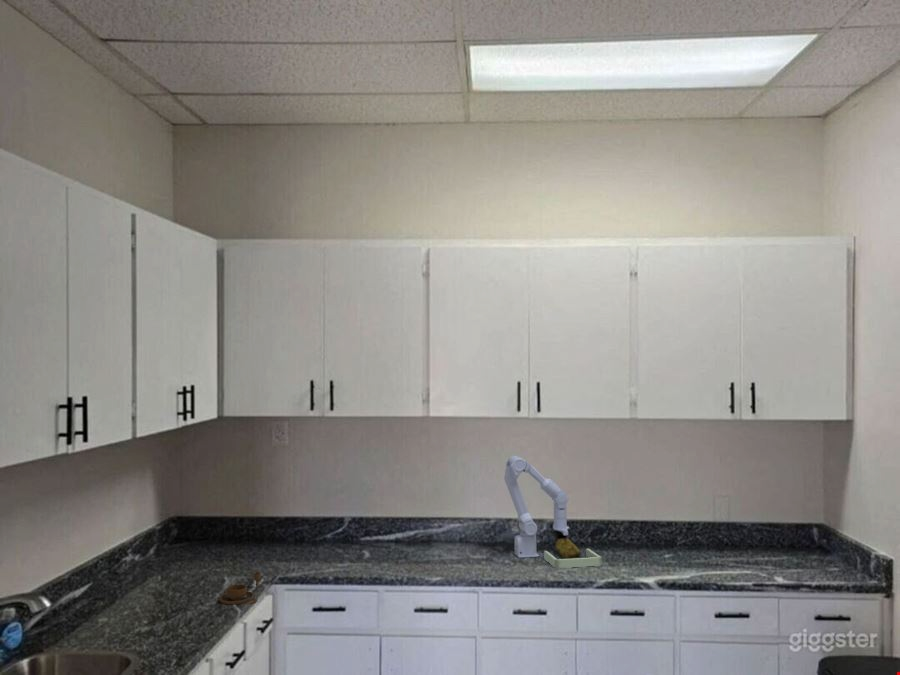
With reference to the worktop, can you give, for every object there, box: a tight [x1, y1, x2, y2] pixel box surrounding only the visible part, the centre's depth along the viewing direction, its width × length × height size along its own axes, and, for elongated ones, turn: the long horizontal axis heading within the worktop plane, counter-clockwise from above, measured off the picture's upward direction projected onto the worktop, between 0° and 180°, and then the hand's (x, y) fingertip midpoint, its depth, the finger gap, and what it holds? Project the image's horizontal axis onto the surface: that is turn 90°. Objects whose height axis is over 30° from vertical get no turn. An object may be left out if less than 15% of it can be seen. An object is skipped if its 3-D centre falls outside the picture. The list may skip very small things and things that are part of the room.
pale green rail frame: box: [543, 548, 603, 570], centre depth 297 cm, size 20×15×4 cm
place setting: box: [218, 571, 261, 607], centre depth 254 cm, size 18×20×6 cm
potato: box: [554, 537, 582, 559], centre depth 304 cm, size 8×13×8 cm, turn 13°
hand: (560, 548), depth 312 cm, fingers closed
